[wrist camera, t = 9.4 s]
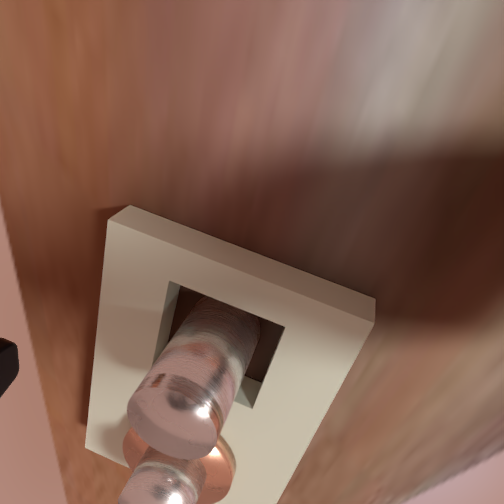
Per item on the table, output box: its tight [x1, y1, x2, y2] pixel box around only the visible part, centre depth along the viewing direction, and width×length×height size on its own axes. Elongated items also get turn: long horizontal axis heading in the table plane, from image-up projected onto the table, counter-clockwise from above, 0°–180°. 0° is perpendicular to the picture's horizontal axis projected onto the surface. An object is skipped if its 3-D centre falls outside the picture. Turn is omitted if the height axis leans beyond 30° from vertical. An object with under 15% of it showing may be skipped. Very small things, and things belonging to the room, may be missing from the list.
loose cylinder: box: [127, 296, 261, 460], centre depth 20 cm, size 4×4×7 cm
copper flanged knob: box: [118, 426, 236, 504], centre depth 24 cm, size 7×7×4 cm
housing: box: [85, 205, 376, 504], centre depth 24 cm, size 13×18×2 cm
